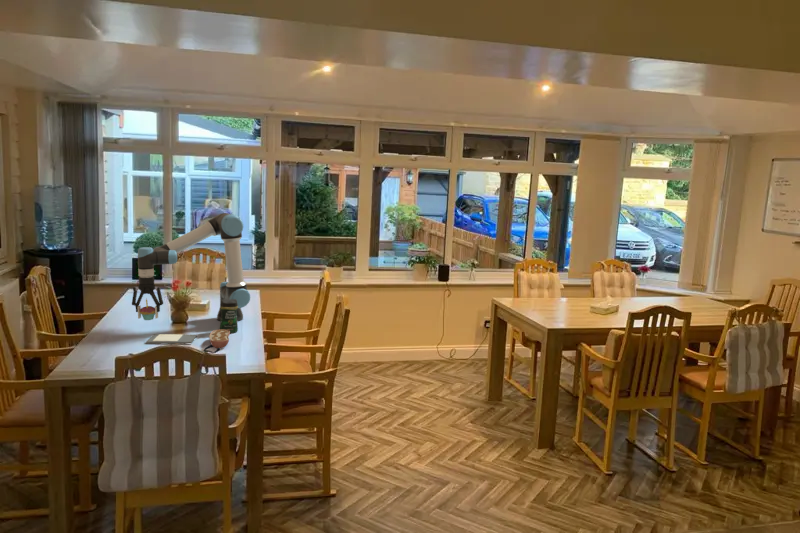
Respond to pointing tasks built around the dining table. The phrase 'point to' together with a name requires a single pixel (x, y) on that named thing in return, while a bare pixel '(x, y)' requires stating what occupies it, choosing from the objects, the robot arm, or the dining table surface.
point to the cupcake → (147, 312)
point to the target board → (170, 338)
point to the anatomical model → (219, 338)
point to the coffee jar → (229, 315)
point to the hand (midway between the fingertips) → (148, 317)
